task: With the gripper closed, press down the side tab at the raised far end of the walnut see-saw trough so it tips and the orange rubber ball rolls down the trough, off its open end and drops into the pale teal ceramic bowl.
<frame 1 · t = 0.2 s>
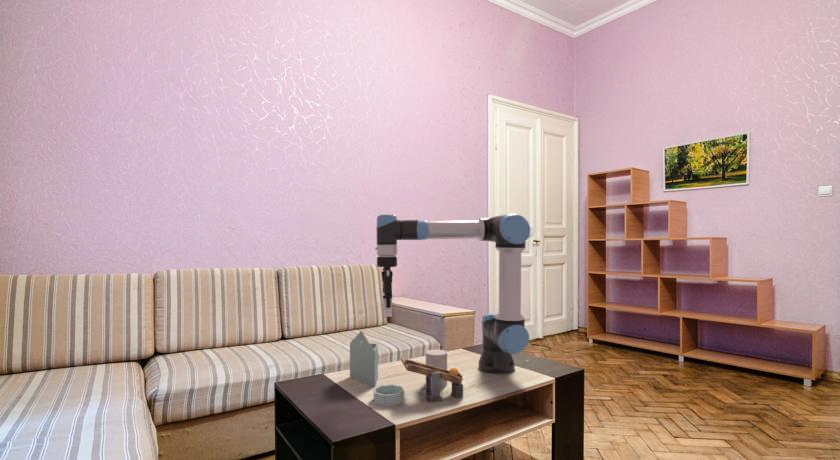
hand: (387, 313, 164), 28 cm above the table, fingers open, 13 cm apart
fulcrum: (432, 396, 155), on the table
ball: (453, 372, 156), point 8 cm above the table, tilted 17°, touching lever
pale pink cylinder: (436, 384, 168), on the table
bowl: (388, 400, 152), on the table
planter: (369, 380, 173), on the table
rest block: (457, 394, 156), on the table
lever: (431, 367, 158), point 9 cm above the table, hinge at -18.0°, touching ball
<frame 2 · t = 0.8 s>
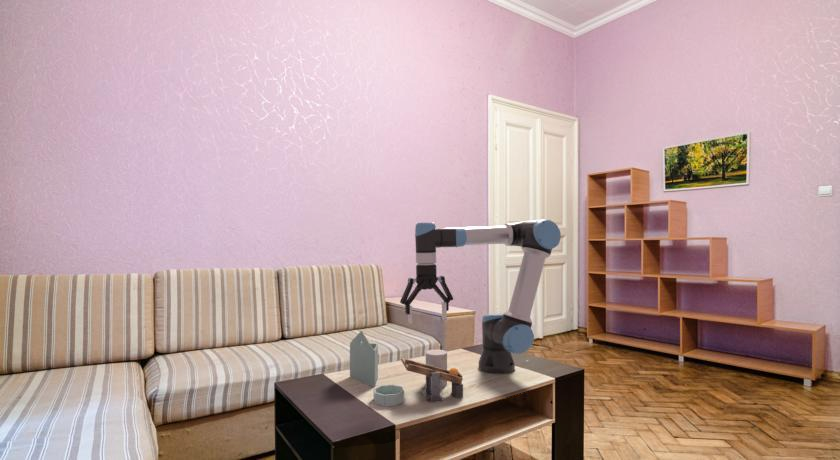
hand: (427, 321, 164), 25 cm above the table, fingers open, 13 cm apart
nothing on the table moved.
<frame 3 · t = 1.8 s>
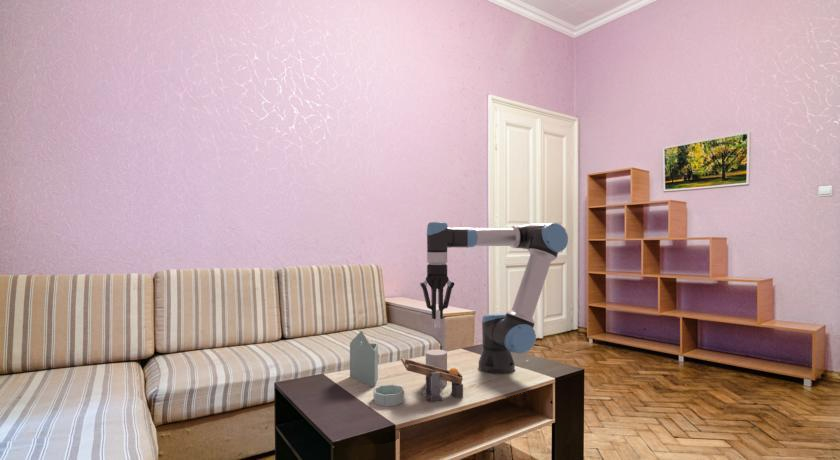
hand: (437, 327, 163), 22 cm above the table, fingers closed
nothing on the table moved.
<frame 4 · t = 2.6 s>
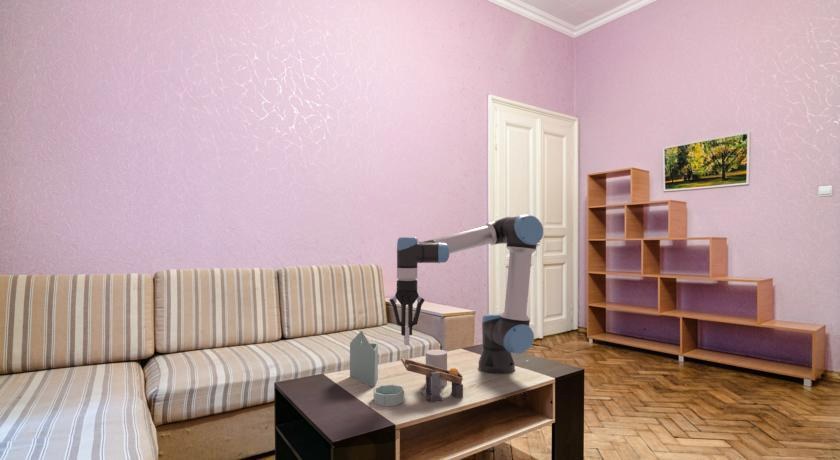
hand: (406, 344, 161), 17 cm above the table, fingers closed
nothing on the table moved.
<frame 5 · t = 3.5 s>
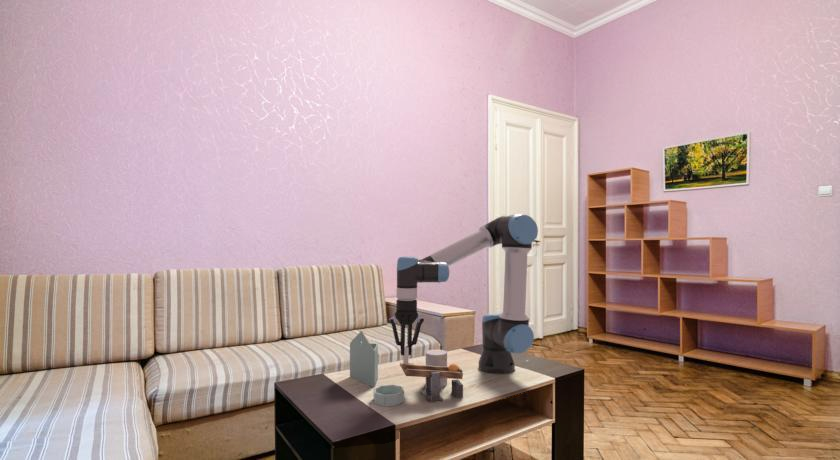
hand: (405, 364, 160), 10 cm above the table, fingers closed
ball: (453, 368, 156), point 9 cm above the table, tilted 5°, touching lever
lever: (430, 367, 158), point 9 cm above the table, hinge at -6.9°, touching ball, gripper
everything else where it was.
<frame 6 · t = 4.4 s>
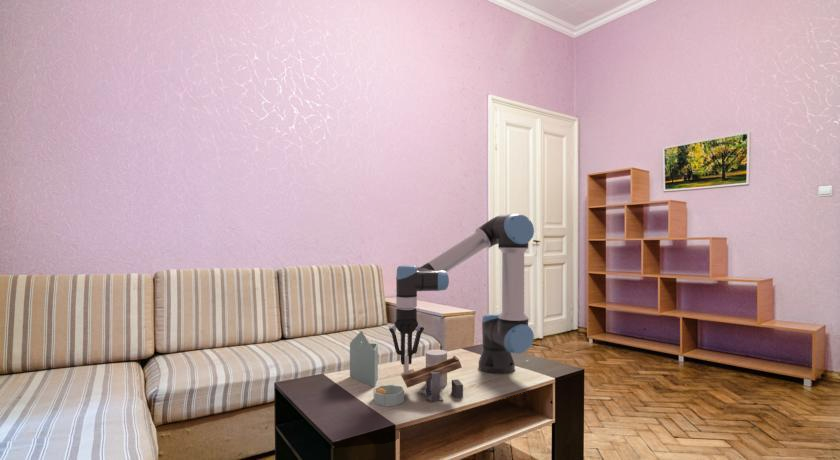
hand: (406, 373, 160), 6 cm above the table, fingers closed
ball: (380, 393, 151), point 2 cm above the table, tilted 170°, touching bowl
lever: (429, 368, 158), point 9 cm above the table, hinge at 16.3°, touching gripper
everything else where it was.
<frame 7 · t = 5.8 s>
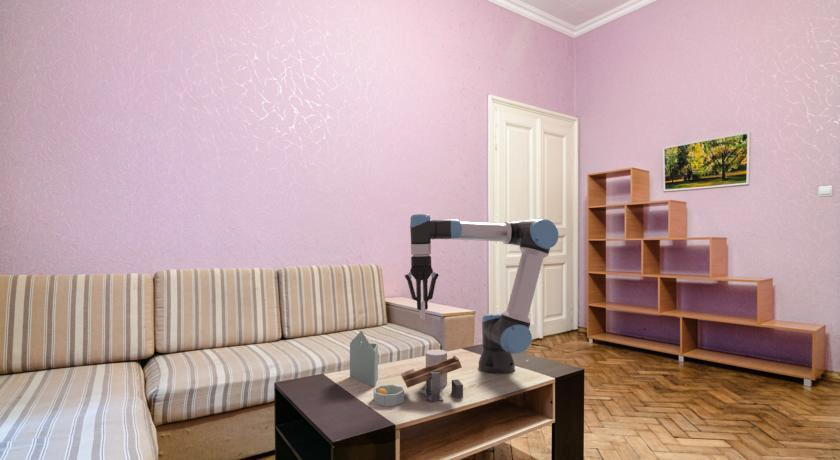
hand: (422, 318, 165), 25 cm above the table, fingers closed
ball: (381, 393, 151), point 2 cm above the table, tilted 160°, touching bowl
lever: (429, 368, 158), point 9 cm above the table, hinge at 16.4°
everything else where it was.
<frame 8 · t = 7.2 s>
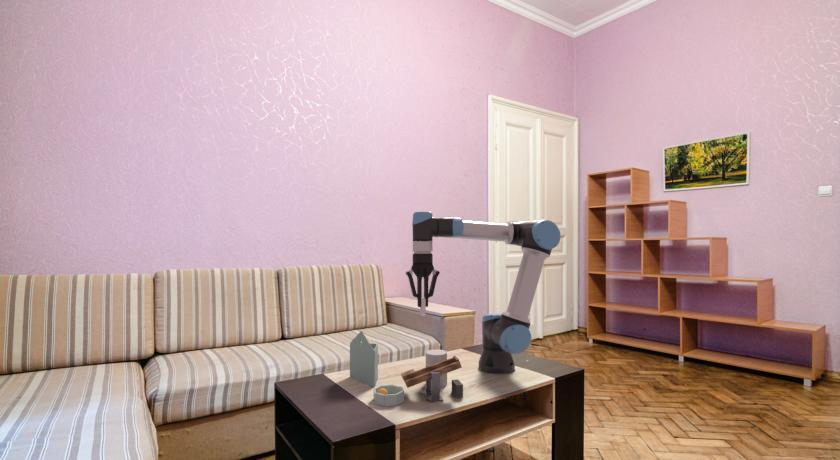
hand: (422, 315, 166), 26 cm above the table, fingers closed
ball: (382, 393, 151), point 2 cm above the table, tilted 150°, touching bowl
everything else where it was.
at the end: ball inside the target area on the bowl (2.0 cm from its centre), point 2.3 cm above the bowl's base; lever at +16° (first picture: -18°) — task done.
